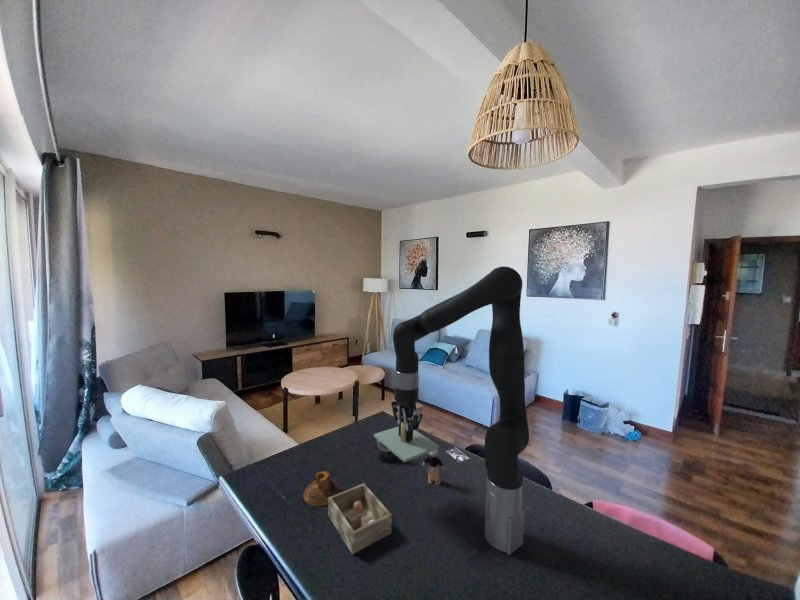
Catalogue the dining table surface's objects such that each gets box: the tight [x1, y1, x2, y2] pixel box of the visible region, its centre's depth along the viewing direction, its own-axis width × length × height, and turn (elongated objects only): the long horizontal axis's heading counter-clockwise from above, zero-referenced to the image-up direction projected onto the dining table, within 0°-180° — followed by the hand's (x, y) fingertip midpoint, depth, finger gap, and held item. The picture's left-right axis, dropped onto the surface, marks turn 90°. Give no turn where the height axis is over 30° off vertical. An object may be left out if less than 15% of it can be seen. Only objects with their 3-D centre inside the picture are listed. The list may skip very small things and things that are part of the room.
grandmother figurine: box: [422, 449, 445, 486], centre depth 109 cm, size 8×4×13 cm, turn 84°
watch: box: [376, 439, 395, 464], centre depth 123 cm, size 6×8×11 cm
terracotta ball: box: [353, 501, 363, 512], centre depth 94 cm, size 3×3×3 cm
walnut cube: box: [344, 509, 361, 531], centre depth 88 cm, size 4×4×4 cm
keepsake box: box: [327, 482, 393, 555], centre depth 89 cm, size 16×12×6 cm
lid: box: [373, 421, 440, 463], centre depth 97 cm, size 17×13×6 cm
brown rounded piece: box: [302, 471, 342, 507], centre depth 101 cm, size 12×12×7 cm
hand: (405, 438), depth 97 cm, fingers closed on lid, 3 cm apart
